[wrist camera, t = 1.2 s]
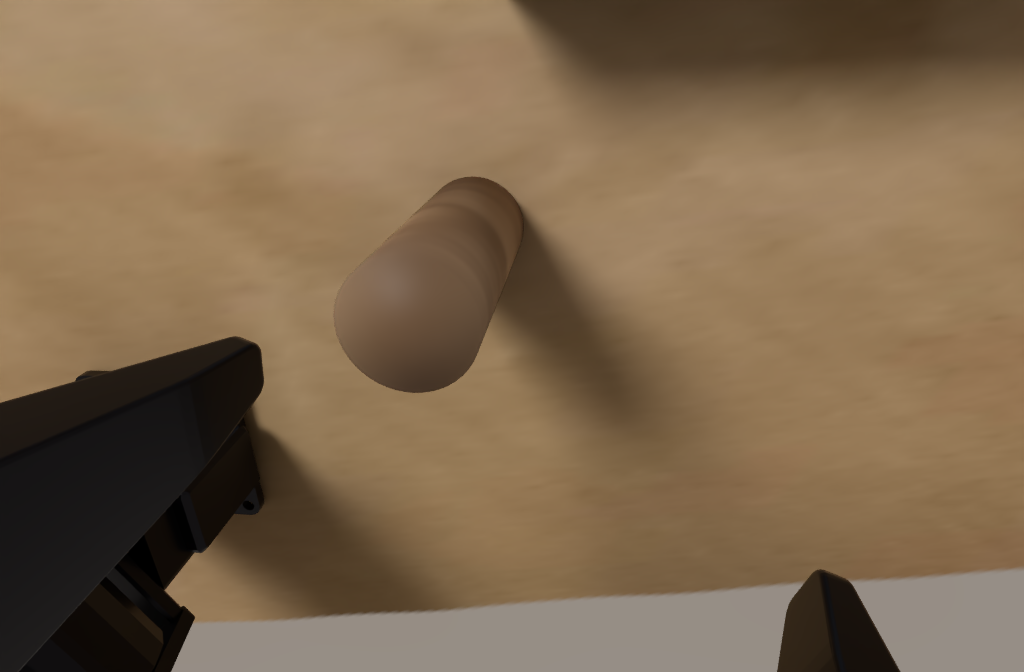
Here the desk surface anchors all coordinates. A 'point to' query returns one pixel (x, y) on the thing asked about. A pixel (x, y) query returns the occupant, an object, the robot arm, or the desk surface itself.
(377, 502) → the desk surface
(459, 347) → the peg
